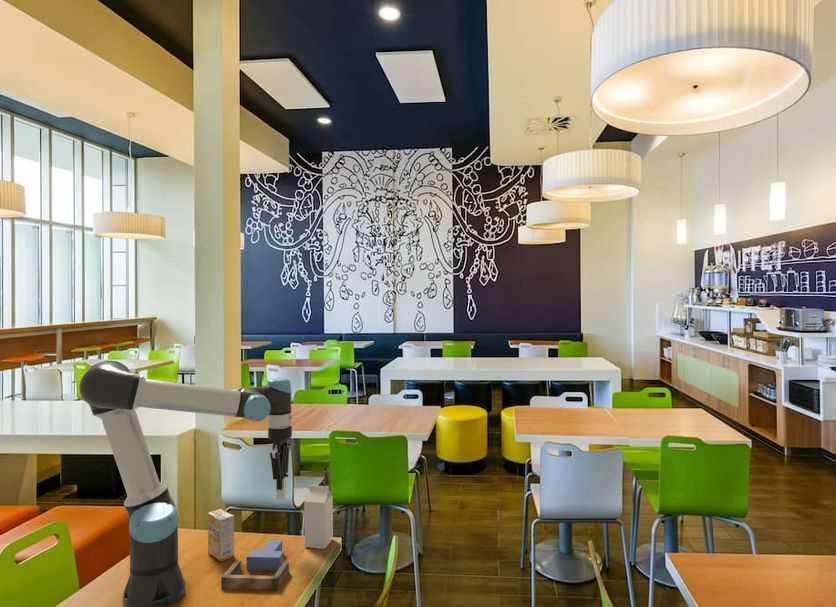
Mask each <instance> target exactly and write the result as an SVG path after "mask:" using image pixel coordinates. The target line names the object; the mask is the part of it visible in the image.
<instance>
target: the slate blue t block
mask: <svg viewBox="0 0 836 607" xmlns="http://www.w3.org/2000/svg"><path fill="white" fill-rule="evenodd" d="M284 551H285V550H283V539H282V540H277V539H276V540H275V539H274V540H273V539H270V540H269V541H268V542H267V543H266V544H265V546H264V547H263V548H262V549H261V550H250V552H249V553H248V554H247V556H246V571H256V570H262V571H264V572H277V571H278V569H279V568H280V566H281V565H282V564H283V562H285V552H284ZM262 571H261V572H262Z"/></svg>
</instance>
